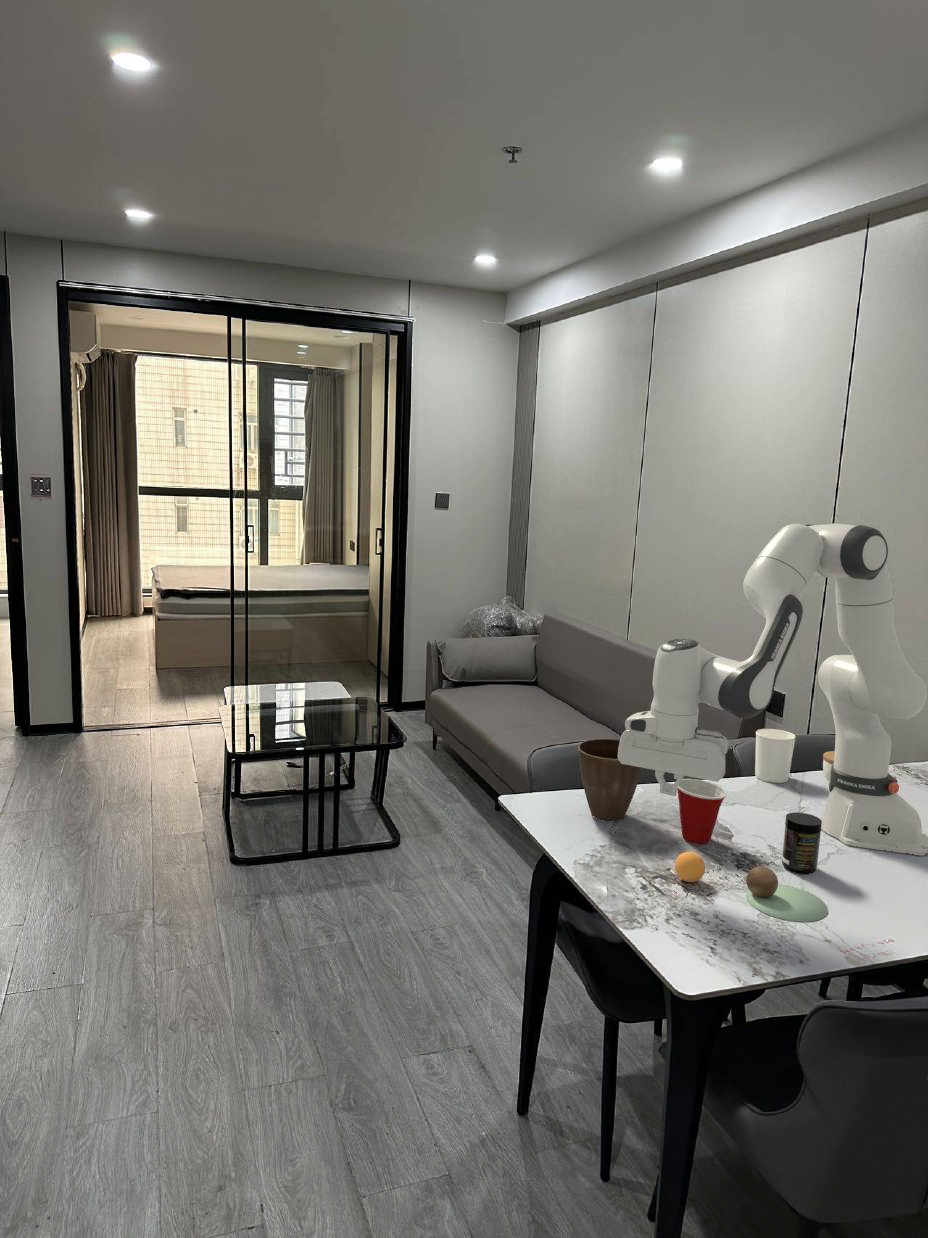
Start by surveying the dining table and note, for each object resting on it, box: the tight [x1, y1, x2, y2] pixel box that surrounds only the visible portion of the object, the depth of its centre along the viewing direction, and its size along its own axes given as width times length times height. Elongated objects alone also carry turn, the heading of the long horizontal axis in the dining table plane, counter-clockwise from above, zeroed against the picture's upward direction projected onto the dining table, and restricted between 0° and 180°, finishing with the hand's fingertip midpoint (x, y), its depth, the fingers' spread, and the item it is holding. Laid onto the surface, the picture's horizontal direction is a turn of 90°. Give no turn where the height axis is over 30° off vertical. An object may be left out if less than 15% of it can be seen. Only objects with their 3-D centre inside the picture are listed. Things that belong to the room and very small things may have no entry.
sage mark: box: [745, 883, 828, 923], centre depth 157 cm, size 14×14×1 cm
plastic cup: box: [677, 778, 728, 845], centre depth 183 cm, size 11×11×12 cm
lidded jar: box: [822, 750, 835, 783], centre depth 221 cm, size 11×11×9 cm
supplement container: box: [781, 812, 822, 875], centre depth 171 cm, size 7×7×10 cm
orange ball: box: [674, 851, 706, 883], centre depth 164 cm, size 6×6×6 cm
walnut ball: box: [745, 865, 779, 898], centre depth 159 cm, size 6×6×6 cm
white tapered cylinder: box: [754, 728, 796, 784], centre depth 225 cm, size 10×10×12 cm
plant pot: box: [577, 738, 643, 822], centre depth 194 cm, size 15×15×16 cm
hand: (668, 793), depth 165 cm, fingers closed
